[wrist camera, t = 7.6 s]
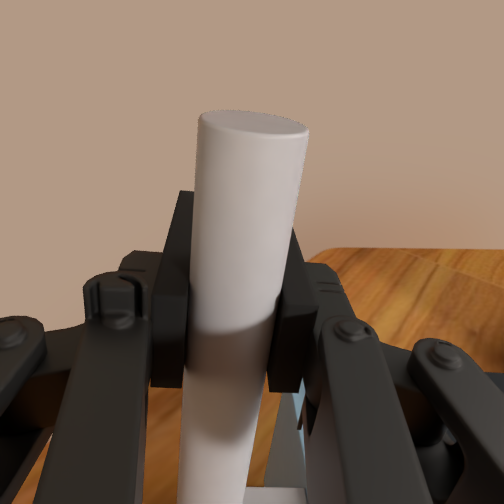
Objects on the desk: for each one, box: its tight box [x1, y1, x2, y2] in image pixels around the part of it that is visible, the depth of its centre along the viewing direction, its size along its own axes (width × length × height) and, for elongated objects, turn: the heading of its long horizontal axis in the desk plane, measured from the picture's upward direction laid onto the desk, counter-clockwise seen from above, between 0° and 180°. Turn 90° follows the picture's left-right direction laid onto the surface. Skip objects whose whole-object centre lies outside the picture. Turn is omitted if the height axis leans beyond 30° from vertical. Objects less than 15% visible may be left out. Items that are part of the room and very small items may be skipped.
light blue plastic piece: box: [177, 110, 309, 504], centre depth 14 cm, size 20×14×22 cm
